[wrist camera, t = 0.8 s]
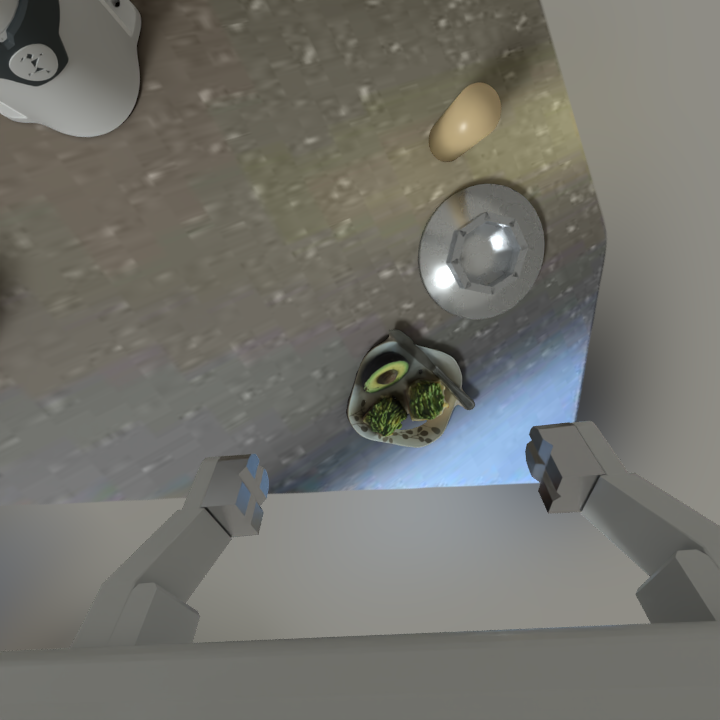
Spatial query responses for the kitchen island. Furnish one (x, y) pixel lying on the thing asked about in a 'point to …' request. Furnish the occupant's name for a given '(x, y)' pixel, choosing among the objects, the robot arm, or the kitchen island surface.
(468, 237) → the collar
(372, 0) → the kitchen island surface
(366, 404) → the salad plate
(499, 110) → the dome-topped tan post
